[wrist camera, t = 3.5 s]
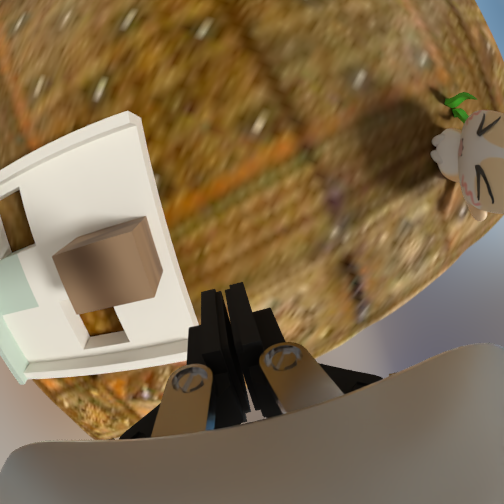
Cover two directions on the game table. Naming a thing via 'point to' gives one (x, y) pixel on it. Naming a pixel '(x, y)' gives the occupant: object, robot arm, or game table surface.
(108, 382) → the game table surface
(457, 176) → the kitten
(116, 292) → the walnut block
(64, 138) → the board
